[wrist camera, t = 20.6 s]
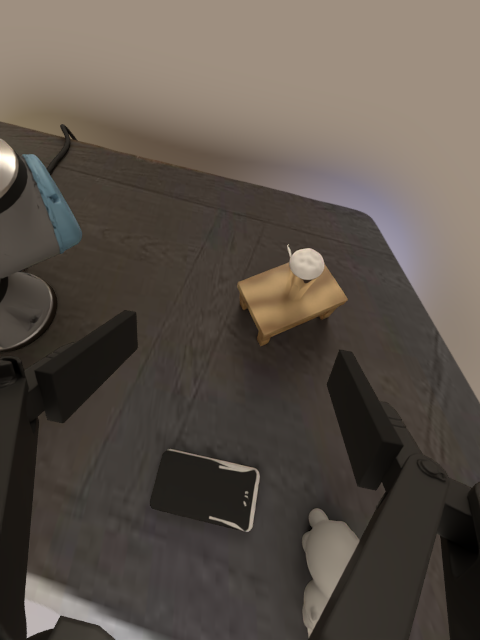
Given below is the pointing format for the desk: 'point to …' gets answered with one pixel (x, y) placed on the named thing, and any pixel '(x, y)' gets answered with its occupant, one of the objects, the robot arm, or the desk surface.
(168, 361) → the desk surface
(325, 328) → the desk surface
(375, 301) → the desk surface
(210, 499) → the smartphone
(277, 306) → the stool
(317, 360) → the desk surface
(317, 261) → the milkshake
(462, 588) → the robot arm
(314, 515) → the round bodied animal figurine
